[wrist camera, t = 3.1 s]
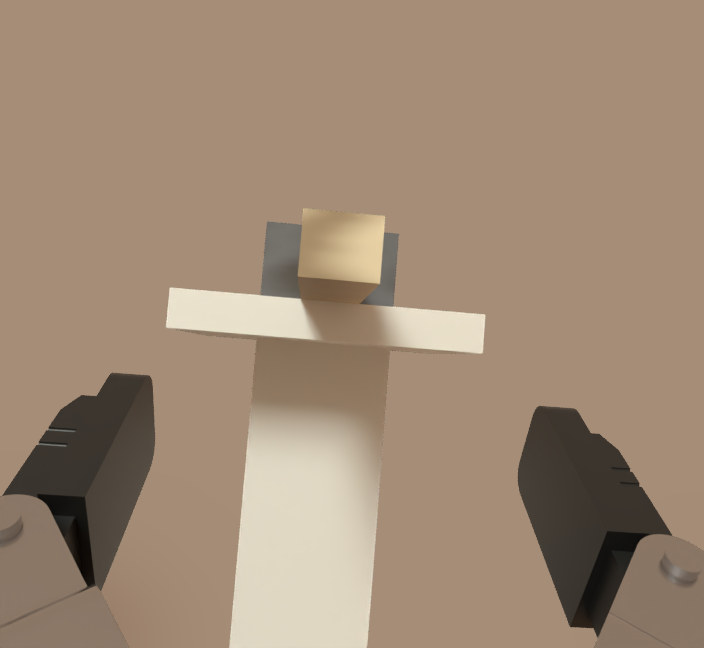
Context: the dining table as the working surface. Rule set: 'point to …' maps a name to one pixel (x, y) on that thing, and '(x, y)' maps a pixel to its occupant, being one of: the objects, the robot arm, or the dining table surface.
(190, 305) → the stand
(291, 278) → the grey and beige blocks
